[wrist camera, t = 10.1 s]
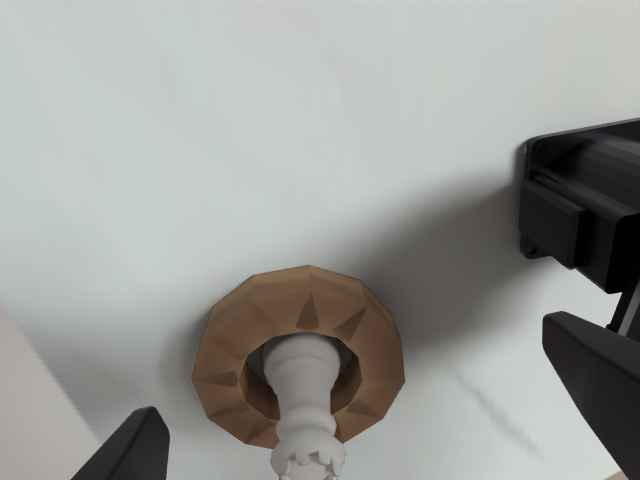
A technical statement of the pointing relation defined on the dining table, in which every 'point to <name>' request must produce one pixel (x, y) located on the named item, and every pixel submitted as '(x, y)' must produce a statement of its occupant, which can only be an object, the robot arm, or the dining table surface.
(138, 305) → the dining table surface
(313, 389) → the rook chess piece
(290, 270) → the walnut bead ring
